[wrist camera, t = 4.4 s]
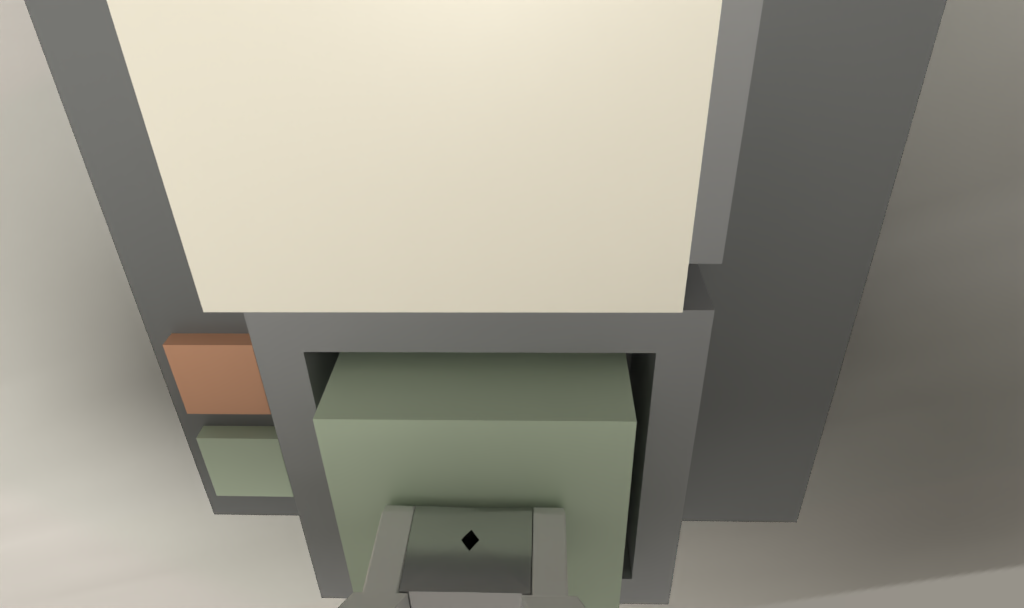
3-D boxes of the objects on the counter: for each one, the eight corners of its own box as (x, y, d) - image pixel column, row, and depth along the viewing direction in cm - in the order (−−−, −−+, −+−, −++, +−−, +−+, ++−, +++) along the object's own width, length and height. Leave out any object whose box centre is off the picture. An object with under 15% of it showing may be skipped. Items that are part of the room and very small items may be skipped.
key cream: (675, -263, 7) (766, -342, 4) (641, 174, 10) (683, 313, 7) (219, -247, 7) (9, -311, 5) (302, 177, 10) (203, 311, 7)
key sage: (615, 294, 13) (637, 421, 10) (604, 476, 16) (618, 618, 13) (363, 294, 13) (312, 419, 10) (392, 473, 16) (358, 613, 13)
